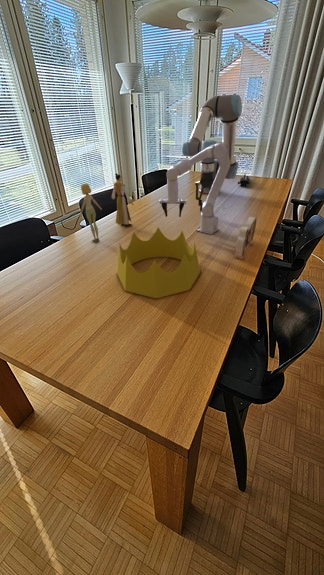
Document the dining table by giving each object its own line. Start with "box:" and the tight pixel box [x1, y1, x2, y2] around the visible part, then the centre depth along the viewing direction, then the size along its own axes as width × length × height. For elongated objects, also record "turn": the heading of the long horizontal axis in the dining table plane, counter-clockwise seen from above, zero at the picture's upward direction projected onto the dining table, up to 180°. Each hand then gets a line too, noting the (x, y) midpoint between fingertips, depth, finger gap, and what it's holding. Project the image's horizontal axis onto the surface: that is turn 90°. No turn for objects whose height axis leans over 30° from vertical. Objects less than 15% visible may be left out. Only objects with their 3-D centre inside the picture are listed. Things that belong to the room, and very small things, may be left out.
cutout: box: [235, 216, 258, 260], centre depth 125 cm, size 15×3×25 cm
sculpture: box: [79, 183, 103, 243], centre depth 136 cm, size 13×5×30 cm, turn 134°
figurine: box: [110, 173, 134, 228], centre depth 153 cm, size 19×9×30 cm, turn 47°
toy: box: [237, 173, 251, 188], centre depth 230 cm, size 10×5×30 cm
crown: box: [116, 226, 201, 299], centre depth 110 cm, size 36×36×15 cm
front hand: (173, 216), depth 149 cm, fingers open, 7 cm apart
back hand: (205, 210), depth 165 cm, fingers closed on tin, 5 cm apart
